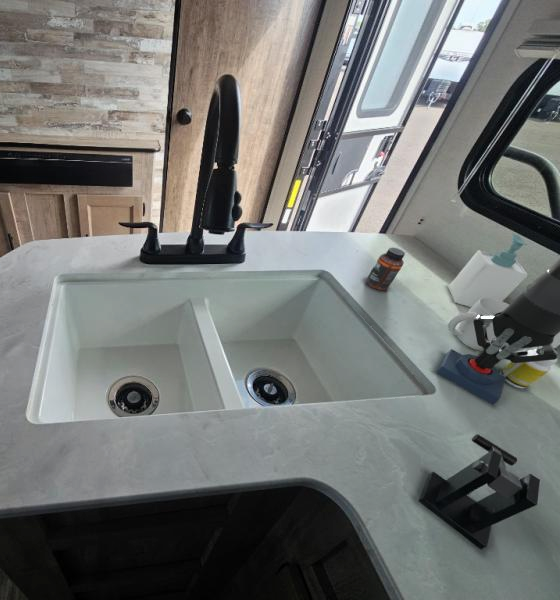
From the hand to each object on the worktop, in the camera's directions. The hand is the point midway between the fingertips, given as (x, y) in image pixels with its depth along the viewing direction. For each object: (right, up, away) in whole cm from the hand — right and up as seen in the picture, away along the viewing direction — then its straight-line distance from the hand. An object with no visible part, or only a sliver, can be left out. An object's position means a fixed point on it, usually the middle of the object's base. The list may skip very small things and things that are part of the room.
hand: (480, 365), depth 67 cm
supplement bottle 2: (+10, -4, +4) cm, 12 cm away
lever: (-18, -11, -20) cm, 30 cm away
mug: (+8, +3, +12) cm, 15 cm away
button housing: (0, -3, +3) cm, 4 cm away
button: (0, -1, +1) cm, 2 cm away
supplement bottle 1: (-3, +18, +28) cm, 33 cm away
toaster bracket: (-22, -18, -18) cm, 34 cm away
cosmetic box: (+19, +1, +10) cm, 22 cm away
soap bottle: (+22, +13, +26) cm, 37 cm away
